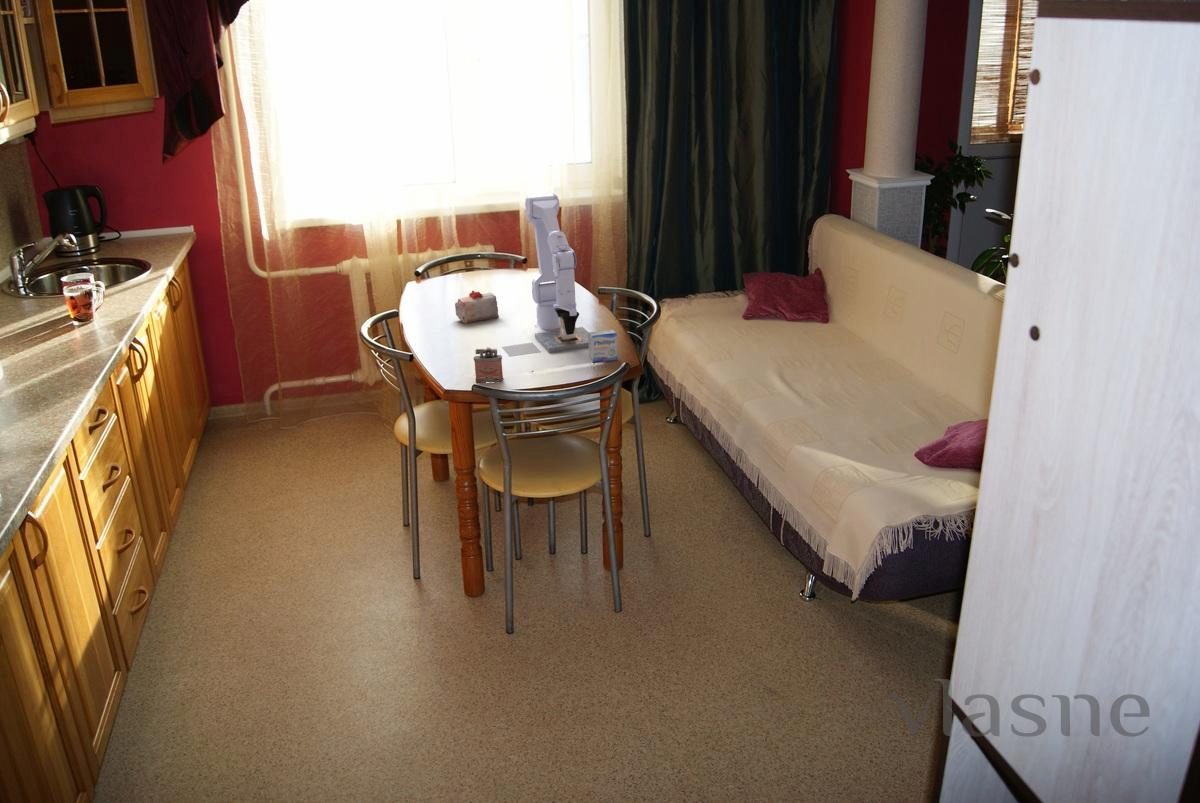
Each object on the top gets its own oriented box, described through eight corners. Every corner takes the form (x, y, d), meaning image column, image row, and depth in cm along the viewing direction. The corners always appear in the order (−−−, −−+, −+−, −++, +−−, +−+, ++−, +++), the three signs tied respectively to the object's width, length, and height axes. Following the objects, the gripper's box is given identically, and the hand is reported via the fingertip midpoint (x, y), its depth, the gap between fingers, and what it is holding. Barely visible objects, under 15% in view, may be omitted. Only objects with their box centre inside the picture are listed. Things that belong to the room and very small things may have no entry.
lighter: (504, 378, 292) (501, 345, 289) (503, 382, 289) (500, 349, 285) (476, 380, 292) (473, 347, 288) (475, 384, 289) (472, 351, 285)
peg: (559, 335, 317) (558, 317, 315) (572, 333, 318) (571, 315, 316) (563, 339, 313) (562, 320, 311) (575, 337, 314) (574, 318, 312)
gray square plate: (501, 349, 316) (501, 346, 316) (532, 345, 319) (532, 342, 319) (509, 359, 308) (509, 356, 307) (541, 354, 311) (541, 351, 310)
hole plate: (535, 340, 323) (534, 333, 323) (582, 334, 328) (582, 326, 327) (549, 356, 309) (548, 347, 308) (598, 348, 314) (598, 340, 313)
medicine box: (592, 363, 302) (591, 335, 298) (588, 359, 306) (587, 331, 302) (618, 360, 304) (617, 332, 300) (613, 355, 308) (612, 328, 304)
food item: (463, 325, 342) (461, 297, 338) (454, 320, 348) (452, 292, 345) (500, 318, 348) (498, 291, 344) (491, 313, 354) (489, 286, 351)
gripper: (546, 285, 315) (548, 327, 320) (560, 297, 303) (562, 340, 308) (568, 283, 317) (570, 324, 322) (582, 294, 305) (584, 337, 310)
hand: (567, 332), depth 315 cm, fingers closed on peg, 4 cm apart
